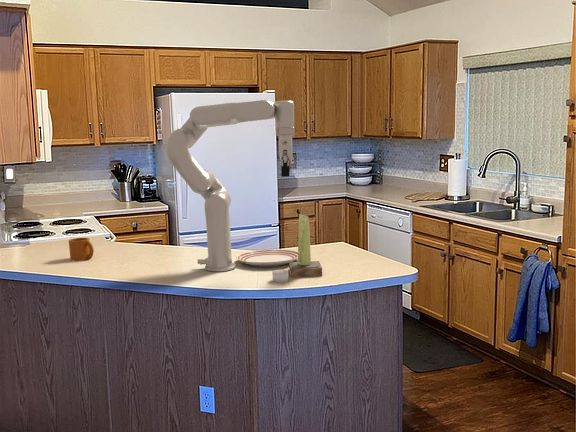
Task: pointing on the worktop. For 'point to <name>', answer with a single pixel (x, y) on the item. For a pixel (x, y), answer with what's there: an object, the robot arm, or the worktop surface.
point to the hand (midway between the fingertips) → (285, 175)
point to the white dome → (280, 275)
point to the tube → (304, 241)
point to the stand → (305, 269)
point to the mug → (80, 249)
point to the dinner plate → (268, 257)
